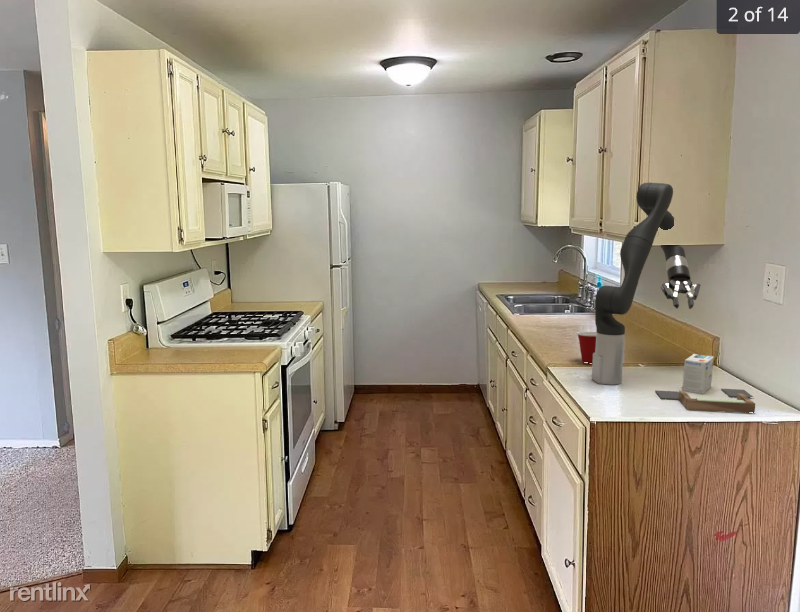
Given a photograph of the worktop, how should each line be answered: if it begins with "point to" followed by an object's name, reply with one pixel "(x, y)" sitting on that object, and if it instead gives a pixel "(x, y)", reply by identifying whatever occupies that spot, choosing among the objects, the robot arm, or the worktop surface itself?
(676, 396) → the pads
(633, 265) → the robot arm
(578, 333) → the plastic cup
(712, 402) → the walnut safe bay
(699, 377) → the light bulb box
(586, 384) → the worktop surface
